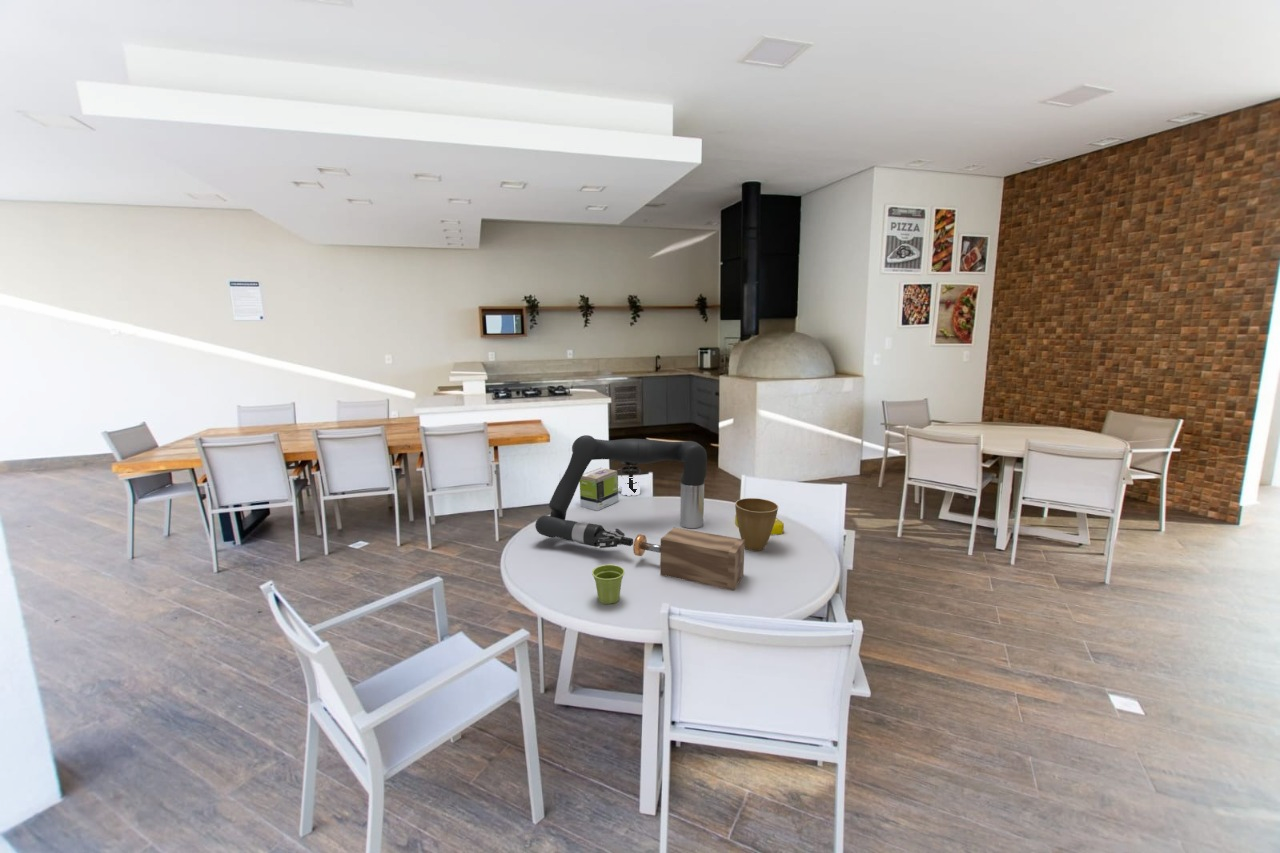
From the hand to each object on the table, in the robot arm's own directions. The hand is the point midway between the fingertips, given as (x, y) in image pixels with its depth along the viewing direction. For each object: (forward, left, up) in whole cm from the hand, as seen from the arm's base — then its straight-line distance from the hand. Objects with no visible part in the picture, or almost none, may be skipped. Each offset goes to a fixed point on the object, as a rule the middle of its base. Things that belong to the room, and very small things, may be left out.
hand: (632, 542), depth 182 cm
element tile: (-47, +32, -7) cm, 57 cm away
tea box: (-45, -38, -7) cm, 59 cm away
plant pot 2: (-29, +35, -7) cm, 46 cm away
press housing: (0, +25, -6) cm, 26 cm away
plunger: (0, +12, -4) cm, 13 cm away
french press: (-65, -33, -7) cm, 73 cm away
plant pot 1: (+26, +5, -7) cm, 28 cm away
